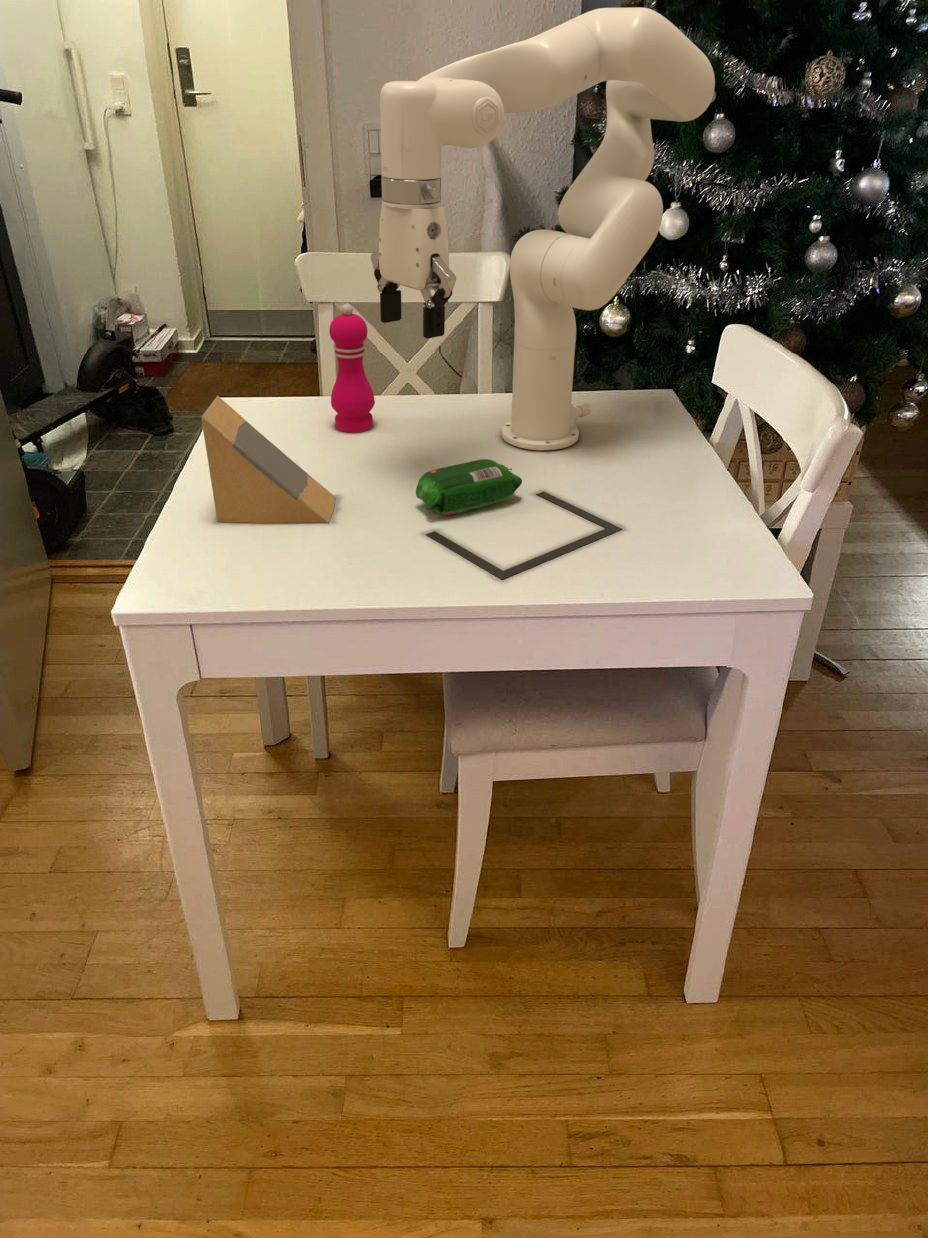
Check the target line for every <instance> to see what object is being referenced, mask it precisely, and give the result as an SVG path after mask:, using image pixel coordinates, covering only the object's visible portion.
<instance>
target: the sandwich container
mask: <svg viewBox="0 0 928 1238" xmlns="http://www.w3.org/2000/svg"><path fill="white" fill-rule="evenodd" d="M201 424H202V425H201V426H202V432H203V438H204V444H205V451H206V457H207V458H206V459H207V463H208V464H207V465H208V470H209V471H208V472H209V478H210V483H211V490H212V494H213V502H214V510H215V515H216V521H217V522H218V523H253V524H255V523H256V524H321V523H322V524H329V523H330V520H331V517H332V515H333V513H334V510H335V504H336V496H335V495H334V494H333V493H332V492H330V491H329V490H328V489H327V488H326V487H324V486H323V485H322V484H321V483H320V482H318V480H316V479H315V478H314V477H313V476H312V475H310V474H309V473H308V472H306V471H305V470H304V469H303V468H302V467H301V466H299V464H297V463H296V462H295V461H293V460H292V459H291V458H290V457H289V456H287V455H286V454H285V453H284V451H282V450H280V448H278V447H277V446H276V445H275V444H274V443H272V442H271V441H270V440H269V439H268V438H267V437H266V436H265V435H263V434H262V433H260V431H259V430H257V429H256V428H255V427H254V426H253V425H252V424H251V423H249V422H248V420H246V419H245V418H244V417H243V416H242V415H240V413H238V412H237V411H236V410H235V409H234V408H233V407H232V406H231V405H229V404H228V403H227V402H226V401H225V400H223V398H221V397H220V396H219V395H216V397H215V398H214V399H213V401H212V402H211V403H210V405H208V407H207V409H206V410H205V412H204V413H203V414H202V415H201Z"/></svg>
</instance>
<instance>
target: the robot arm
mask: <svg viewBox="0 0 928 1238" xmlns="http://www.w3.org/2000/svg"><path fill="white" fill-rule="evenodd" d="M713 68H714V67H713V66H712V64H711V62H710V60H709V58H708V57H707V56H706V54H705V53H704V52H703V51H702V50H701V49H700V48H699V47H698V46H697V45H696V44H694V42H692V41H691V39H690V38H688V37H687V36H686V35H685V34H684V33H683V32H682V31H681V30H680V29H679V28H678V27H677V26H676V25H675V24H673V22H671V21H670V20H669V19H667V18H666V17H665V16H664V15H662V14H661V13H659V12H657V11H655V10H654V9H651V8H648V7H601V8H595V9H592V10H589V11H587V12H584V13H582V14H580V15H578V16H576V17H573V18H571V19H569V20H567V21H565V22H563V23H561V24H559V25H556V26H554V27H552V28H550V29H547V30H546V31H544V32H541V33H539V34H537V35H535V36H532V37H530V38H527V39H524V40H521V41H517V42H513V43H510V44H506V45H504V46H501V47H499V48H495V49H492V50H489V51H485V52H482V53H479V54H474V55H472V56H468V57H465V58H462V59H460V60H459V59H458V60H457V61H454V62H452V63H449V64H447V65H445V66H443V67H441V68H438V69H436V70H434V71H432V72H430V73H427V74H426V75H424V76H422V77H420V78H419V79H418V80H393V81H388V82H387V83H384V84H383V85H382V87H381V89H380V94H379V114H380V115H379V116H380V117H379V118H380V122H379V123H380V157H381V158H380V162H381V163H380V165H381V167H380V168H381V169H380V171H381V208H380V217H379V230H378V249H377V250H375V251H374V252H372V253H371V255H370V260H371V264H372V268H373V270H374V271H373V275H374V278H375V280H376V282H377V286H376V288H377V291H378V293H379V306H380V307H379V309H380V311H379V312H380V322H381V323H383V324H386V323H392V322H399V321H401V320H402V290H400V289H399V288H400V286H403V287H405V288H409V289H412V290H417V291H420V293H421V296H422V298H423V301H424V302H425V305H426V306H423V308H422V336H423V338H424V339H434V338H439V337H443V336H444V335H445V334H446V333H445V327H446V323H445V322H446V306H448V305H449V300H450V299H451V297H452V296H453V290H454V288H455V285H456V282H457V275H456V274H455V273H454V272H453V270H451V269H450V254H449V250H450V249H449V237H448V227H447V225H448V224H447V220H446V214H445V208H444V206H441V204H442V200H441V198H442V197H441V195H442V192H441V191H442V147H443V146H453V147H458V148H466V149H476V148H480V147H483V146H486V145H488V144H489V143H491V142H492V141H493V140H495V139H496V137H497V136H498V135H499V133H500V131H501V129H502V127H503V125H504V122H505V121H504V120H505V114H513V113H514V114H515V113H516V114H517V113H530V112H536V111H542V110H546V109H550V108H552V107H554V106H557V105H559V104H560V103H563V102H565V101H567V100H568V99H570V98H572V97H574V96H576V95H578V94H580V93H583V92H584V91H586V90H588V89H591V88H592V87H594V86H596V85H598V84H601V83H603V82H606V83H605V101H606V102H605V103H606V127H605V133H604V136H603V139H602V141H601V143H600V145H599V147H598V148H597V149H596V151H595V153H594V154H593V155H592V156H591V158H590V160H589V161H588V162H587V163H586V164H585V166H584V168H582V170H581V172H580V173H579V174H578V176H577V177H576V178H575V180H574V181H573V182H572V183H571V185H570V186H569V188H568V189H567V191H566V192H565V193H564V196H563V197H562V199H561V201H560V204H559V207H558V211H557V218H558V223H559V225H560V228H562V230H563V231H564V232H563V231H558V230H553V229H534V230H532V231H529V232H527V233H525V234H524V235H522V236H521V237H520V238H519V239H518V240H517V241H516V243H515V245H514V247H513V249H512V251H511V255H510V259H509V275H510V276H509V277H510V284H511V292H512V296H513V309H514V335H513V340H514V341H513V360H512V361H513V364H512V390H511V392H512V393H511V395H512V396H511V420H509V421H508V422H506V423H504V424H503V425H502V427H501V438H502V439H503V440H504V441H505V442H506V443H508V444H509V445H511V446H514V447H516V448H520V449H525V450H530V451H554V450H561V449H565V448H568V447H571V446H573V445H574V444H576V443H577V441H578V440H579V437H580V430H579V429H578V427H577V426H576V425H575V422H576V421H577V420H578V418H579V419H580V418H584V417H587V416H589V415H590V413H591V407H590V405H589V404H588V403H583V404H581V405H577V406H574V405H573V404H572V396H573V383H574V370H575V352H576V341H577V323H576V322H577V321H576V316H575V312H574V309H578V310H582V311H595V310H599V309H601V308H603V307H604V306H605V305H607V304H608V303H609V302H610V301H611V300H612V299H613V298H614V297H615V296H616V294H617V293H618V292H619V290H620V289H621V287H623V285H624V284H625V283H626V281H627V279H628V278H629V277H630V276H631V274H632V273H633V271H634V270H635V268H636V267H637V266H638V264H640V262H641V260H642V259H643V257H644V256H645V255H646V253H648V251H649V249H650V248H651V246H652V245H653V243H654V241H655V240H656V238H657V236H658V233H659V231H660V228H661V225H662V222H663V215H664V204H663V203H664V202H663V199H662V196H661V193H660V192H659V190H658V189H657V188H656V187H655V186H654V185H653V184H652V183H650V182H649V181H646V180H647V179H648V177H649V175H650V174H651V172H652V168H653V166H654V162H655V147H654V142H653V135H652V123H651V120H657V121H658V120H659V121H670V122H681V123H683V122H691V121H693V120H696V119H697V118H699V117H700V116H702V115H703V114H704V112H706V111H707V109H708V107H710V104H711V102H712V100H713V97H714V95H715V94H714V93H715V87H716V78H715V77H716V76H715V72H714V69H713ZM431 291H434V293H433V295H432V292H431Z"/></svg>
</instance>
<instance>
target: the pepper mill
mask: <svg viewBox="0 0 928 1238" xmlns="http://www.w3.org/2000/svg"><path fill="white" fill-rule="evenodd" d="M353 312H354V308H353V306H352V305H351V304H349V303H344V304H343V305H342V306H341V314H338V315H336V316H335V317H334V318H333V319H332V320H331V322H330V325H329V328H328V329H329V331H328V332H329V336H330V339H331V340H332V341H333V343H334V345H333V349H334V352H333V354H334V356H336V359H337V376H336V379H335V382H334V384H333V387H332V389H331V393H330V406H331V408H332V409H333V410H334V412H336V413H337V414H336V415H335V416H334V422H335V423H334V424H335V428H336V430H338V431H340V432H343V433H350V434H351V433H353V434H354V433H355V434H356V433H362V432H366V431H368V430H370V429H372V428H373V426H374V418H373V417H374V416H373V414H372V413H371V411H372V410H373V408H374V406H375V405H376V401H375V400H376V399H375V394H374V390H373V388H372V385H371V384H370V382H369V380H368V379H367V378H368V377H367V376H366V372H365V369H364V356H365V355H366V350H365V349H366V345H365V344H364V343H365V341H366V339H367V337H368V326H367V323H366V321H365V320H364V319H363V318H362V316H361V315H358V314H356V313H353Z"/></svg>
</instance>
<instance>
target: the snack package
mask: <svg viewBox="0 0 928 1238" xmlns="http://www.w3.org/2000/svg"><path fill="white" fill-rule="evenodd" d="M512 471H513V468H512V467H511V468H508V467H507V466H505V465H504V464H501V463H499V462H497V461H495V460H492V459H489V458H487V459H486V458H482V459H476V460H472V461H468V462H467V461H466V462H462V463H456V464H452V465H448V466H444V467H439V468H435V469H431V470H429V471H427V472H425V473H423V474H422V475H421V476H420V478H419V479H418V481H417V485H416V488H415V496H416V498H417V499H419V500H421V501H422V502H423V503H424V505H425V508H426V509H427V510H429V511H434V512H435V513H436V514H438V515H440V516H441V515H442V516H452V515H456V514H461V513H464V512H467V511H471V510H476V509H480V508H483V507H488V506H492V505H494V504H498V503H502V502H505V501H507V500H508V499H509V498H511V497H512V496H513V495H514V493H515V492H516V491H517V490H518V488H519V487H521V485H522V484H523V479H522V478H521V476H519V475H517V474H515V473H513V472H512Z"/></svg>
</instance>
